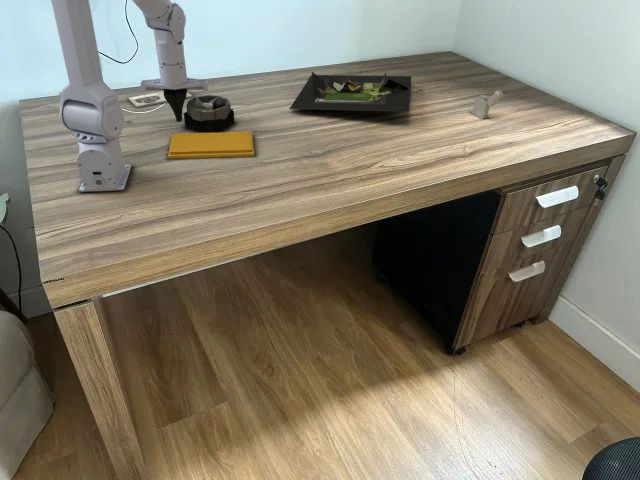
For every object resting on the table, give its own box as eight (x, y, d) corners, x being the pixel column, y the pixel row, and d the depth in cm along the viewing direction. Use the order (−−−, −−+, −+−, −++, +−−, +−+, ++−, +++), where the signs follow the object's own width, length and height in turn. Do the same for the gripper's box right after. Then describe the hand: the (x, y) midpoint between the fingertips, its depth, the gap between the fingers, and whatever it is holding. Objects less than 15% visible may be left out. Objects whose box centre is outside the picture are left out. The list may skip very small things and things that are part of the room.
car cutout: (182, 89, 136) (180, 73, 133) (192, 97, 132) (190, 80, 129) (128, 99, 128) (125, 82, 126) (137, 107, 124) (134, 90, 122)
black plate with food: (412, 60, 141) (409, 93, 117) (410, 87, 145) (407, 124, 121) (310, 59, 146) (287, 91, 122) (312, 85, 150) (290, 121, 126)
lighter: (471, 113, 131) (478, 83, 126) (475, 112, 132) (483, 82, 127) (491, 122, 126) (499, 92, 122) (495, 121, 127) (504, 91, 122)
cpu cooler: (203, 91, 120) (238, 99, 116) (205, 113, 123) (239, 122, 120) (176, 104, 112) (212, 114, 109) (179, 128, 116) (215, 137, 112)
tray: (254, 156, 106) (254, 150, 105) (168, 159, 103) (167, 153, 102) (252, 136, 114) (251, 131, 113) (172, 138, 111) (171, 133, 110)
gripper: (205, 55, 112) (211, 112, 120) (139, 55, 109) (149, 113, 117) (204, 65, 106) (210, 124, 114) (135, 65, 104) (146, 125, 112)
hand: (179, 119), depth 115 cm, fingers closed
